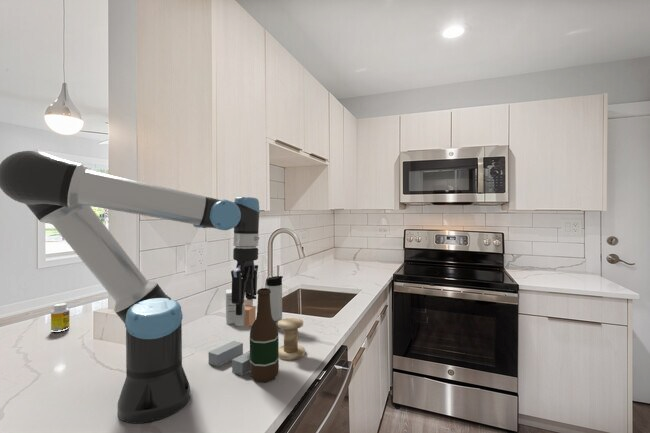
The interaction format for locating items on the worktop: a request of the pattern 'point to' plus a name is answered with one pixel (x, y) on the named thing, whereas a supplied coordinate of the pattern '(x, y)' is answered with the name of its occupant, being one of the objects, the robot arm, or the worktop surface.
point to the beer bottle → (264, 341)
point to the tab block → (249, 315)
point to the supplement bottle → (60, 317)
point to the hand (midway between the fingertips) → (244, 322)
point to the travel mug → (275, 297)
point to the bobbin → (291, 339)
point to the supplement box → (230, 307)
